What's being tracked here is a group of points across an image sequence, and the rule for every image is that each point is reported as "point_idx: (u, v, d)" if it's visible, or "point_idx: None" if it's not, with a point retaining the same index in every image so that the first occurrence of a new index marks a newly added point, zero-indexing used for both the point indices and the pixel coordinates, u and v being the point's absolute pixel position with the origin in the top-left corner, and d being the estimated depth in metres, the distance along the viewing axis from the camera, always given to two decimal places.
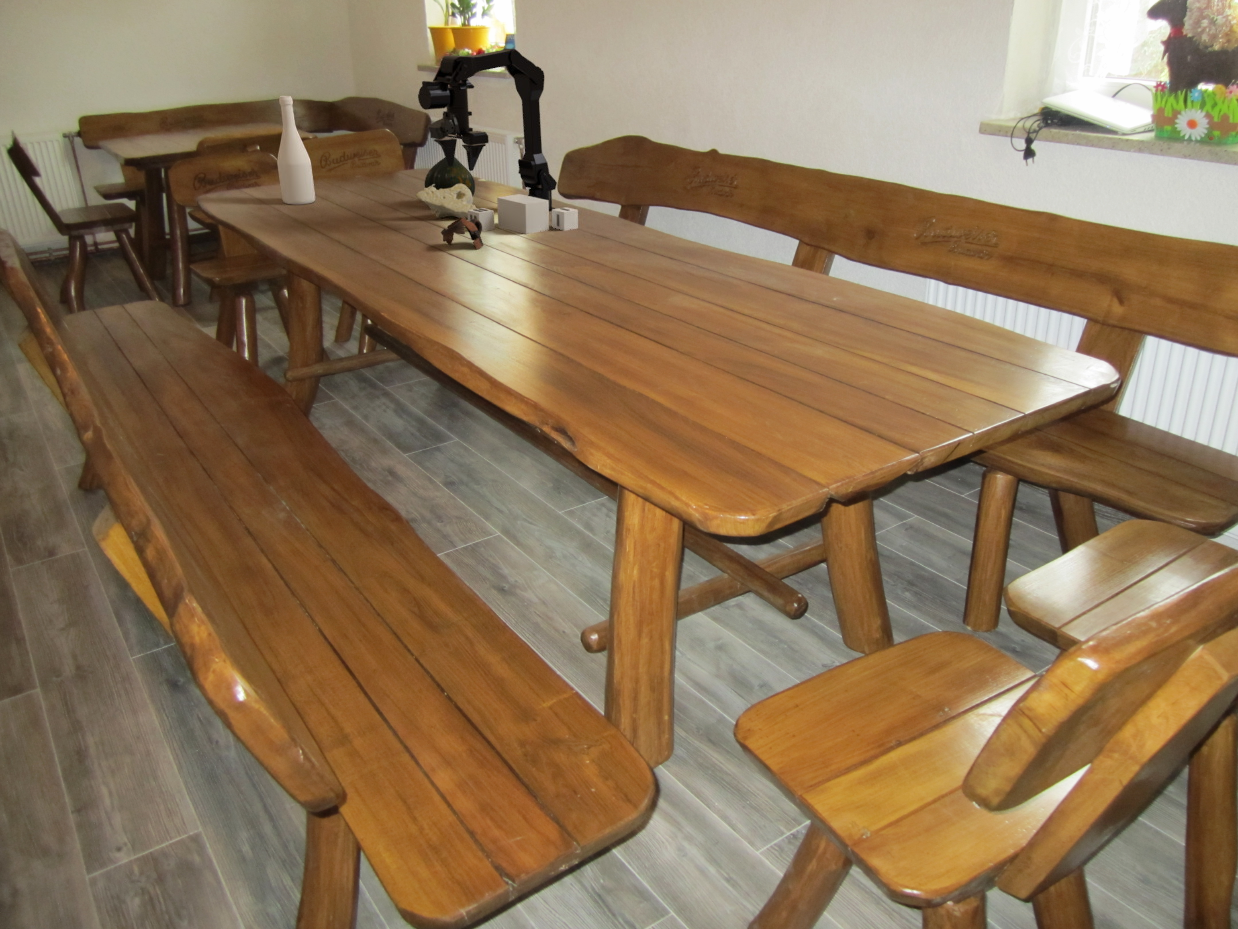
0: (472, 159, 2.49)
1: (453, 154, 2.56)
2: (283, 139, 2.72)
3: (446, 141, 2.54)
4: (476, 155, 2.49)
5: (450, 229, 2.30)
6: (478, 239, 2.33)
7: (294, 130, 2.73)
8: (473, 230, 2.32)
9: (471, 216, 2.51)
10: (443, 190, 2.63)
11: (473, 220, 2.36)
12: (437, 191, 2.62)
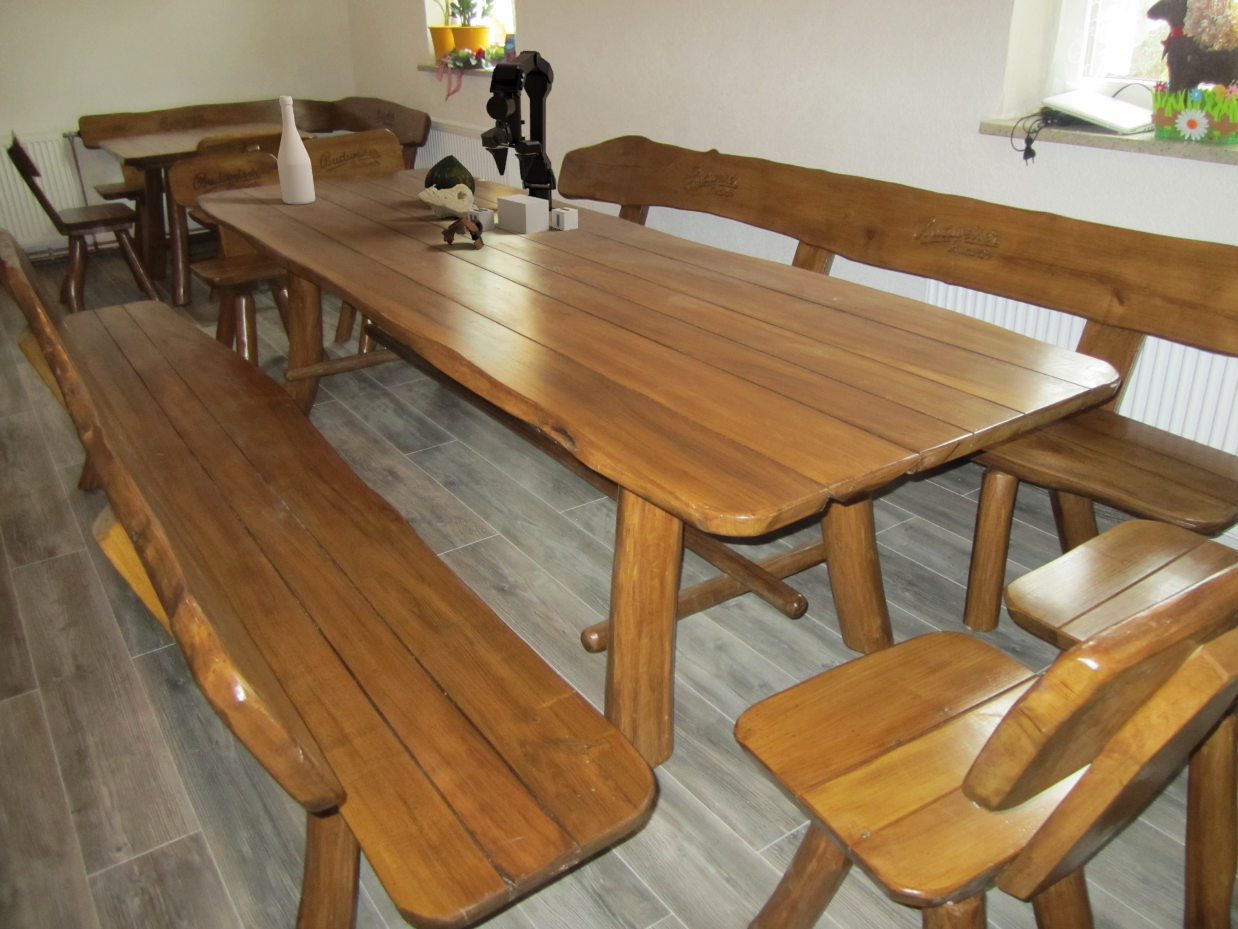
0: (524, 168, 2.45)
1: (504, 163, 2.53)
2: (283, 139, 2.72)
3: (498, 150, 2.50)
4: (528, 164, 2.45)
5: (451, 229, 2.30)
6: (479, 239, 2.33)
7: (294, 130, 2.73)
8: (474, 230, 2.31)
9: (471, 216, 2.51)
10: (444, 190, 2.62)
11: (474, 220, 2.36)
12: (438, 191, 2.61)
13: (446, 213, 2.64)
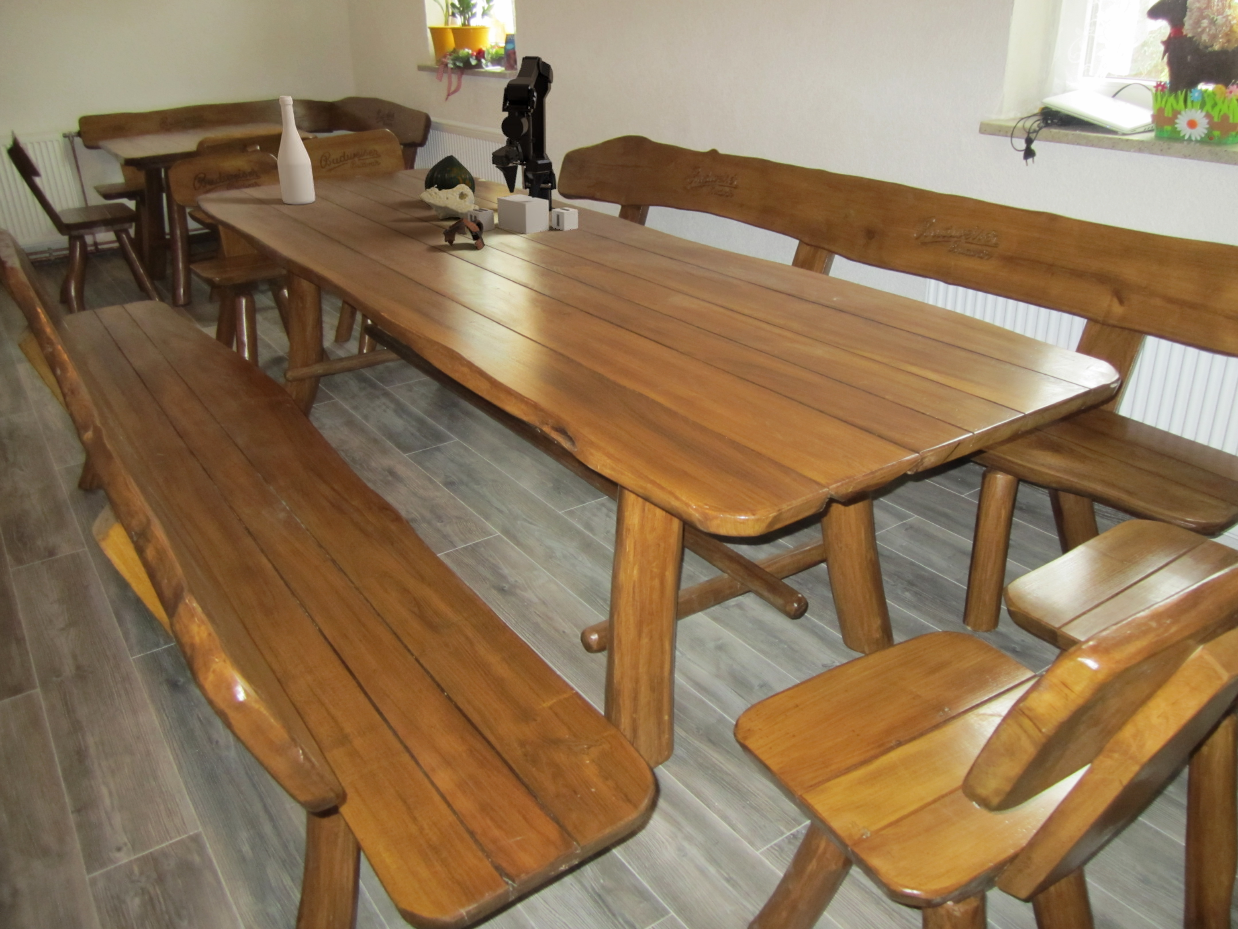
0: (535, 186, 2.47)
1: (514, 180, 2.54)
2: (283, 139, 2.72)
3: (508, 167, 2.52)
4: (539, 182, 2.47)
5: (452, 229, 2.29)
6: (480, 239, 2.32)
7: (294, 130, 2.73)
8: (475, 230, 2.31)
9: (471, 216, 2.51)
10: (446, 191, 2.62)
11: (475, 220, 2.36)
12: (440, 192, 2.61)
13: (448, 214, 2.63)
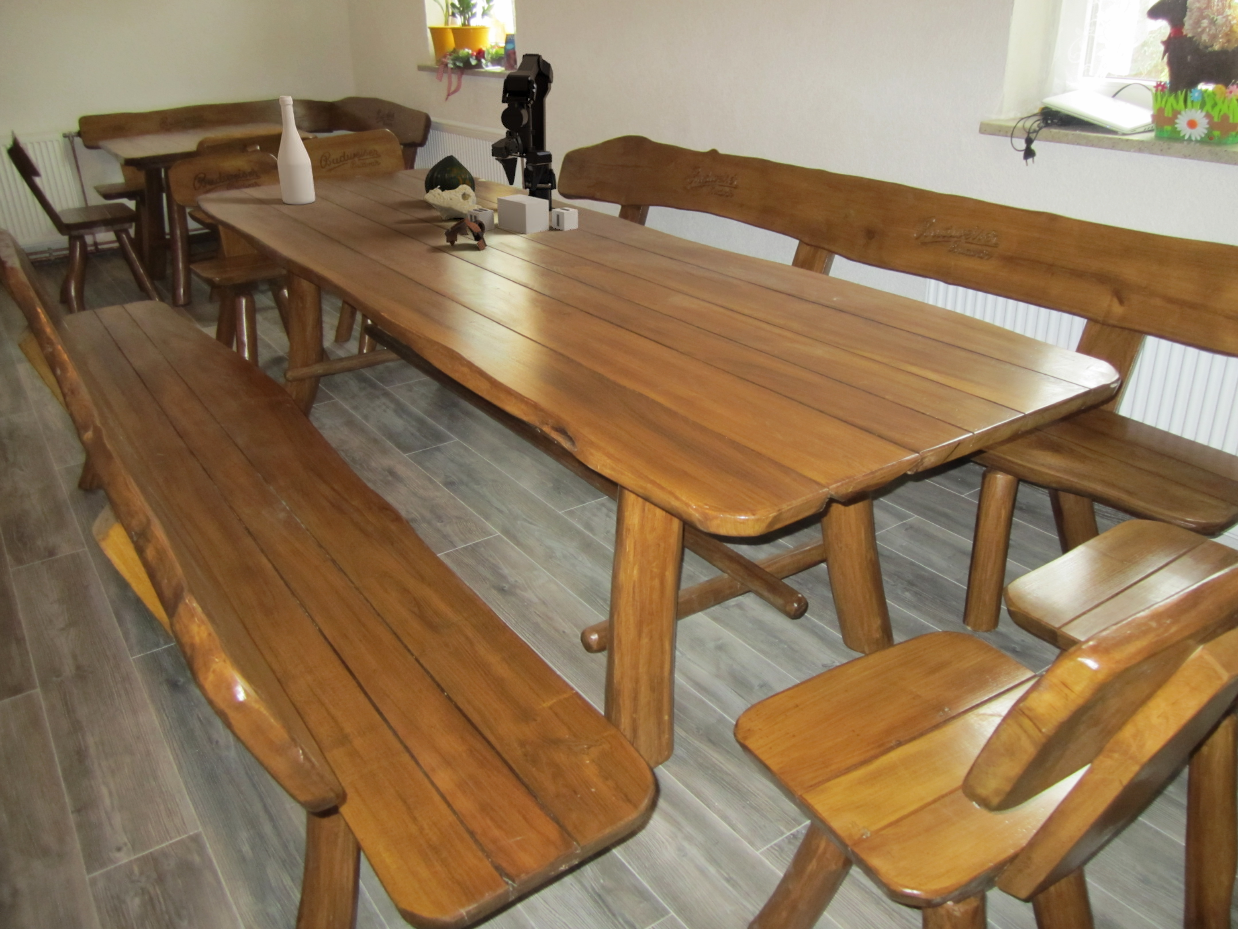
0: (535, 178, 2.46)
1: (514, 173, 2.53)
2: (283, 139, 2.72)
3: (507, 160, 2.51)
4: (539, 174, 2.46)
5: (454, 230, 2.29)
6: (482, 240, 2.32)
7: (294, 130, 2.73)
8: (477, 231, 2.31)
9: (471, 216, 2.51)
10: (449, 192, 2.61)
11: (476, 221, 2.35)
12: (443, 193, 2.60)
13: (451, 214, 2.62)
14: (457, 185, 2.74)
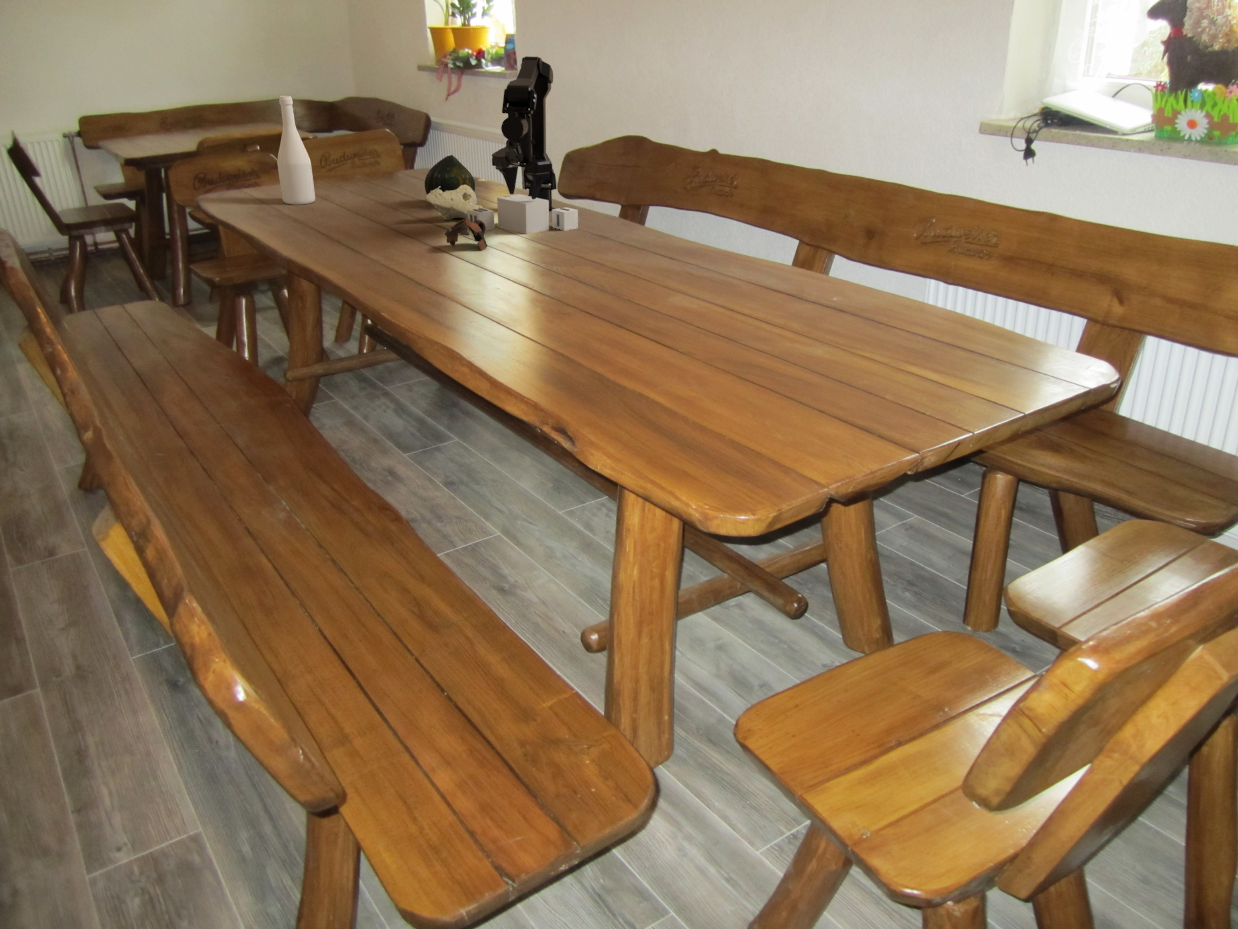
0: (535, 188, 2.47)
1: (514, 182, 2.54)
2: (283, 139, 2.72)
3: (508, 169, 2.52)
4: (539, 184, 2.47)
5: (454, 230, 2.29)
6: (482, 240, 2.32)
7: (294, 130, 2.73)
8: (477, 231, 2.31)
9: (471, 216, 2.51)
10: (450, 192, 2.60)
11: (477, 221, 2.35)
12: (444, 193, 2.59)
13: (452, 215, 2.62)
14: (457, 185, 2.74)
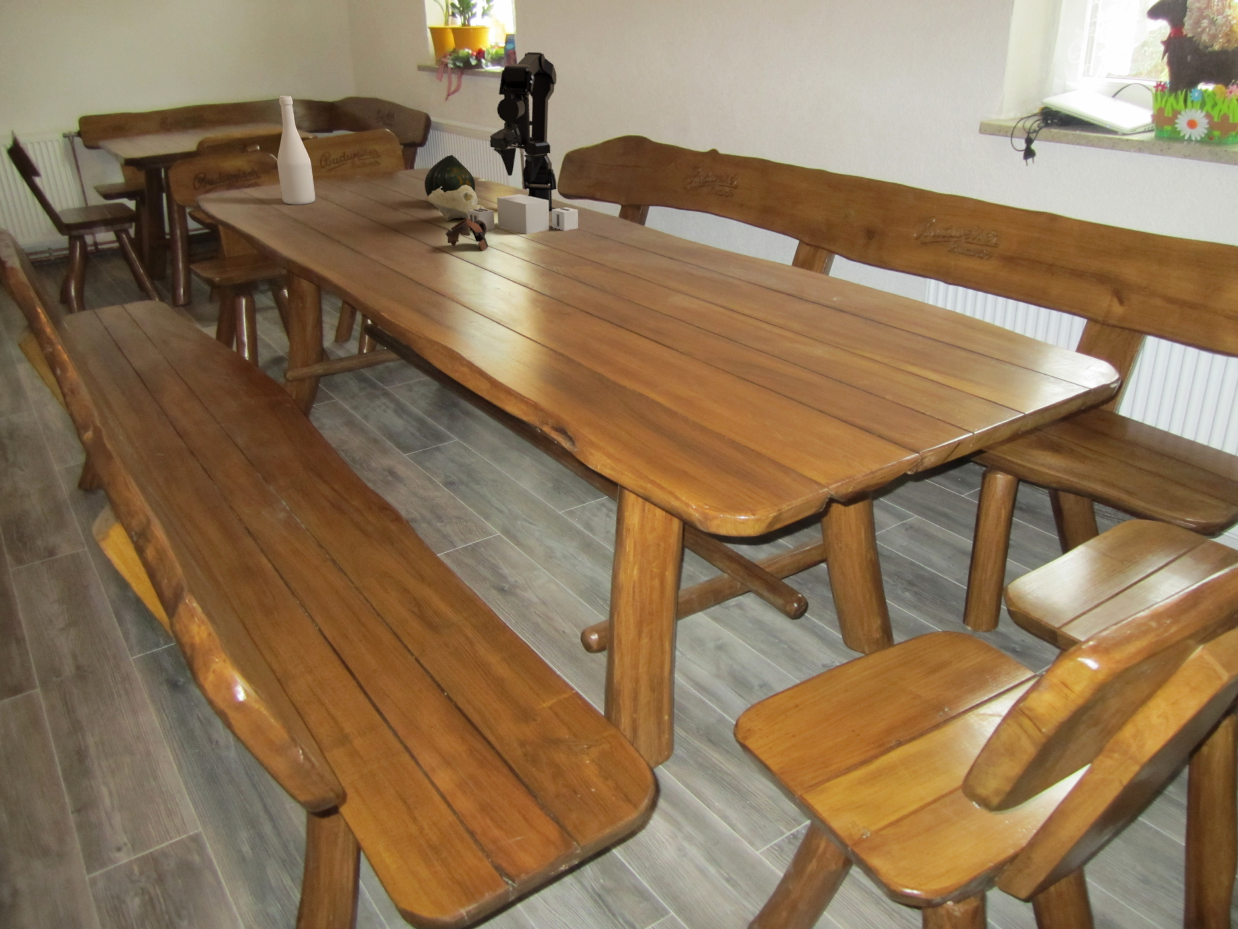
0: (533, 169, 2.49)
1: (512, 163, 2.56)
2: (283, 139, 2.72)
3: (506, 150, 2.54)
4: (537, 165, 2.49)
5: (455, 230, 2.28)
6: (483, 240, 2.32)
7: (294, 130, 2.73)
8: (478, 231, 2.30)
9: (471, 216, 2.51)
10: (451, 192, 2.60)
11: (477, 221, 2.35)
12: (446, 193, 2.59)
13: (454, 215, 2.62)
14: (457, 185, 2.74)
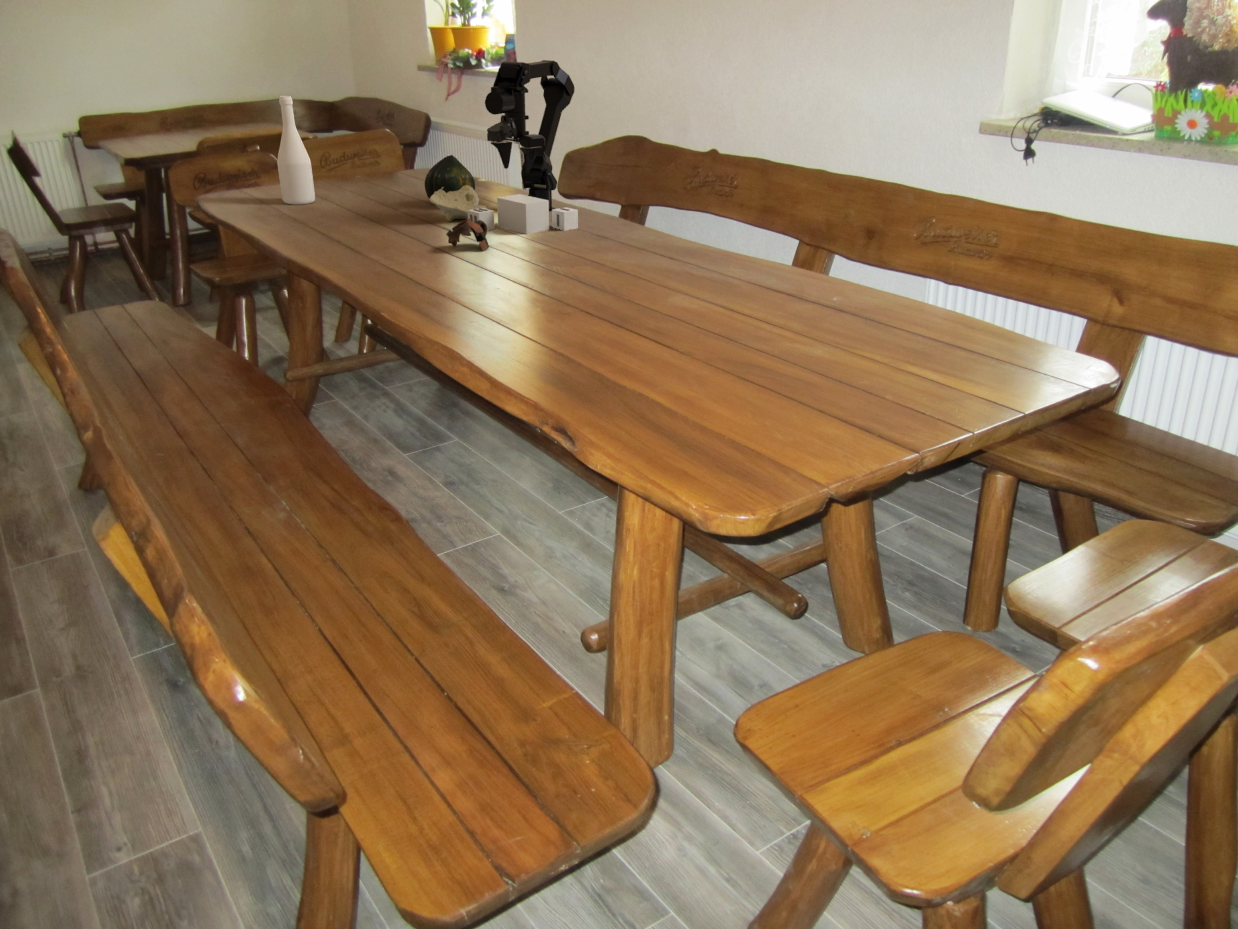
0: (529, 161, 2.57)
1: (509, 156, 2.65)
2: (283, 139, 2.72)
3: (502, 144, 2.62)
4: (532, 157, 2.58)
5: (456, 231, 2.28)
6: (484, 241, 2.31)
7: (294, 130, 2.73)
8: (479, 232, 2.30)
9: (471, 216, 2.51)
10: (453, 193, 2.60)
11: (478, 221, 2.35)
12: (448, 194, 2.58)
13: (456, 215, 2.61)
14: (457, 185, 2.74)
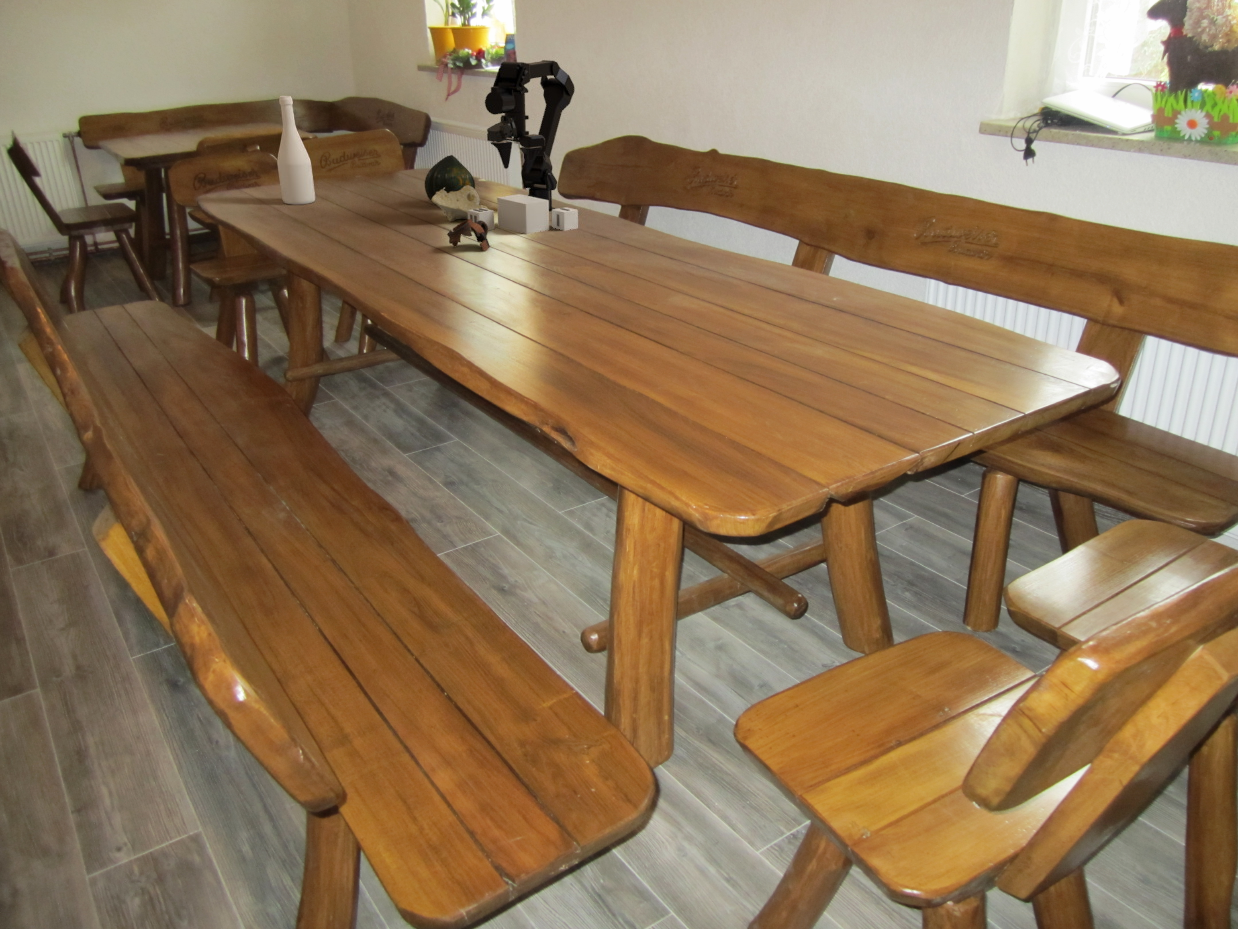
0: (528, 161, 2.57)
1: (509, 156, 2.65)
2: (283, 139, 2.72)
3: (502, 144, 2.62)
4: (532, 157, 2.58)
5: (457, 231, 2.28)
6: (485, 241, 2.31)
7: (294, 130, 2.73)
8: (480, 232, 2.30)
9: (471, 216, 2.51)
10: (454, 193, 2.59)
11: (479, 222, 2.35)
12: (449, 194, 2.58)
13: (457, 216, 2.61)
14: (457, 185, 2.74)
